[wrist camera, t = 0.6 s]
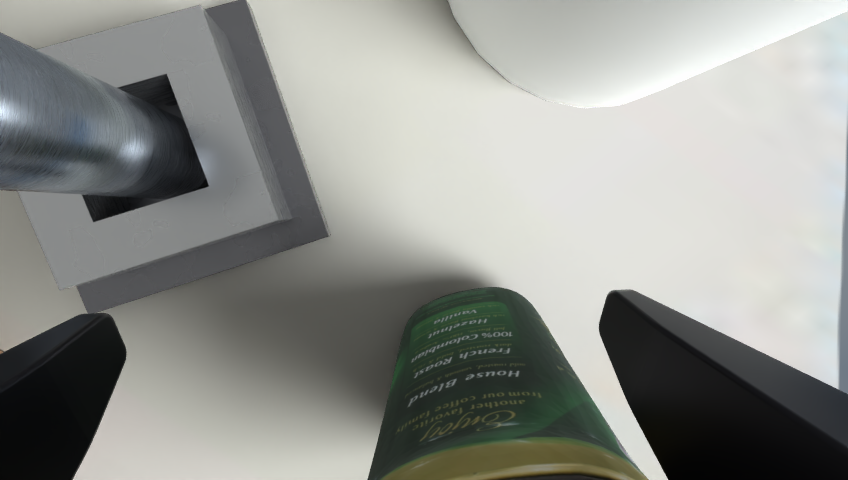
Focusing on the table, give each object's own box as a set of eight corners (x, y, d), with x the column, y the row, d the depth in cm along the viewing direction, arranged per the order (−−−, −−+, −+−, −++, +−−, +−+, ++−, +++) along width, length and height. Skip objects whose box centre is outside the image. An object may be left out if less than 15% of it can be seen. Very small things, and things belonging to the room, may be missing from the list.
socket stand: (330, 235, 22) (320, 240, 18) (102, 310, 21) (38, 333, 17) (251, 8, 21) (222, -39, 17) (4, 76, 20) (-89, 42, 16)
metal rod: (199, 208, 20) (-52, 205, 8) (113, 187, 20) (-286, 150, 8) (219, 128, 20) (-9, 9, 8) (132, 104, 20) (-246, -60, 8)
